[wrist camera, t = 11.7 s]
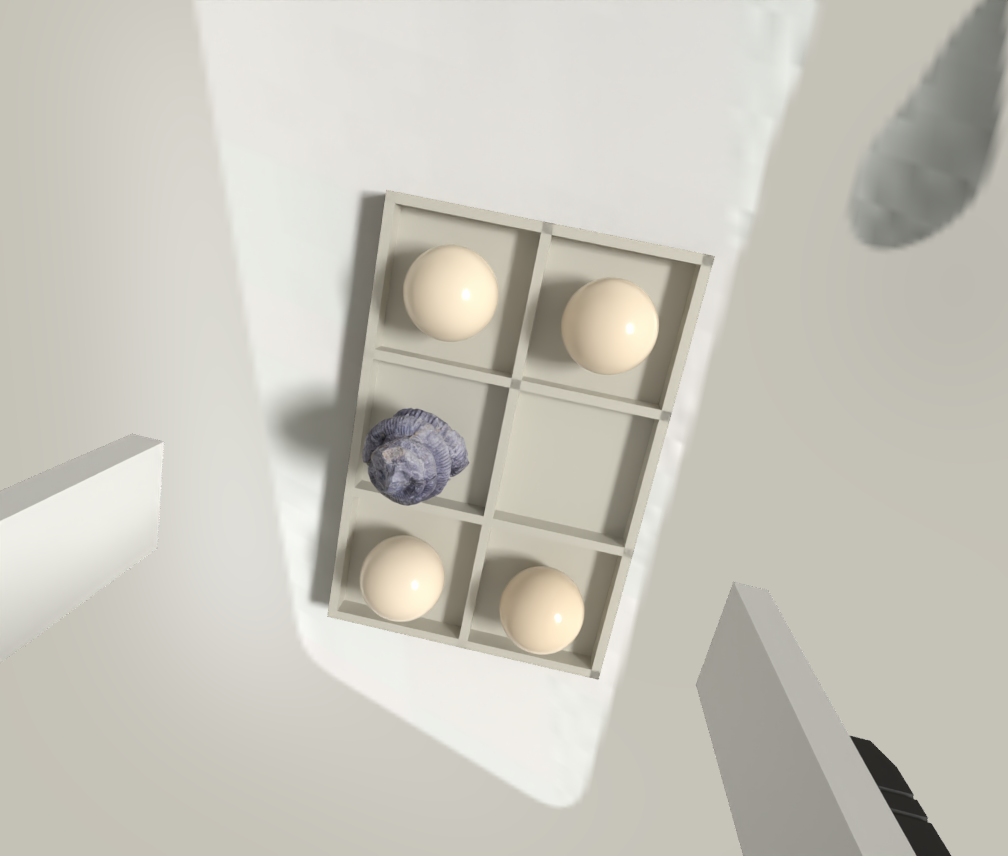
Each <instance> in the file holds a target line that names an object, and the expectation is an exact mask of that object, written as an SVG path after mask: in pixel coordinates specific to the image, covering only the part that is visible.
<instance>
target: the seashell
mask: <svg viewBox="0 0 1008 856" xmlns="http://www.w3.org/2000/svg"><path fill="white" fill-rule="evenodd" d="M467 456H468V451H467V449H466V445H465V440H464V438H463V437H461V436H460V435H459V433H457V431H455V430H452V429H451V427H450V426H449V425H448V423H445V422H444V421H443V420H441V419H440V418H439V417H437V416H436V415H434V414H432V413H429V412H426V411H424V410H421V409H413V408H407V409H402V410H399V411H398V412H397V413H396V414H395V415H393V418H389V419H384V420H382V421H380V422H379V423H378V424H377V425H375V426H374V427H373V428H372V429H371V430H370V431H369V433H368V434H367V436H366V438H365V444H364V449H363V452H362V458H363V462H364V463H366V464H367V466H369V467H368V475H369V478H370V481H371V482H372V484H373V485H374V487H375V488H376V489H377V490H378V491H379V492H380V493H381V494H382V495H383V496H385V497H386V498H388V499H389V500H391V501H393V502H395V503H398V504H400V505H404V506H405V505H406V506H410V505H415V504H418V503H420V502H421V501H425V500H428V499H430V498H431V497H434V496H437V495H438V494H440V493H441V492H442V490H443V489H444V487H445V486H446V485H447V482H448V480H451V479H450V477H454V476H456V475H458V474H459V473H460V472H462V471H463V470H464V469H465V467H467V466H468V464H469V461H468V458H467Z"/></svg>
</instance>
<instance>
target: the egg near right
mask: <svg viewBox="0 0 1008 856" xmlns="http://www.w3.org/2000/svg"><path fill="white" fill-rule="evenodd" d="M658 331H659V319H658V314H657V310H656V307H655V305H654V303H653V301H652V300H651V298H650V297H649V295H648V294H647V293H646V292H645V291H644V290H643V289H642V288H641V287H639V286H638V285H636V284H635V283H633V282H631V281H628V280H626V279H622V278H615V277H607V278H600V279H597V280H594V281H591V282H589V283H587V284H586V285H584V286H582V287H581V288H580V289H578V290H577V291H576V292H575V293H574V294H573V296H572V297H571V298H570V300H569V301H568V303H567V305H566V307H565V309H564V312H563V315H562V320H561V335H562V339H563V343H564V345H565V348H566V350H567V352H568V353H569V355H570V356H571V357H572V359H573V360H574V361H575V362H576V363H577V364H578V365H580V366H581V367H583V368H584V369H586V370H588V371H590V372H593V373H596V374H601V375H616V374H621V373H624V372H627V371H630V370H631V369H633V368H635V367H637V366H638V365H639V364H641V363H642V362H643V361H644V360H645V359H646V358H647V356H648V355H649V354H650V352H651V351H652V349H653V347H654V345H655V343H656V340H657V337H658Z"/></svg>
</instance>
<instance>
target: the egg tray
mask: <svg viewBox="0 0 1008 856" xmlns="http://www.w3.org/2000/svg"><path fill="white" fill-rule="evenodd" d="M446 244H454V245H460V246H464V247H467V248H469V249H471V250H473V251H475V252H476V253H478V254H479V255H480V256H482V257H483V258H484V259H485V260H486V261H487V262H488V264H489V265H490V266H491V268H492V270H493V272H494V274H495V276H496V279H497V283H498V289H499V299H498V305H497V309H496V311H495V314H494V316H493V318H492V320H491V321H490V323H489V324H488V325H487V326H486V327H485V328H484V329H483V330H482V331H481V332H480V333H479V334H477V335H475V336H474V337H472V338H469V339H467V340H463V341H458V342H445V341H440V340H436V339H434V338H432V337H429V336H428V335H426V334H424V333H423V332H422V331H421V330H419V329H418V328H417V327H416V326H415V324H414V323H413V322H412V321H411V319H410V317H409V316H408V313H407V311H406V308H405V305H404V300H403V284H404V280H405V277H406V274H407V272H408V270H409V268H410V266H411V265H412V263H413V262H414V261H415V260H416V259H417V257H419V256H420V255H421V254H422V253H424V252H425V251H427V250H429V249H431V248H433V247H436V246H440V245H446ZM714 257H715V256H711V255H706V254H701V253H697V252H692V251H687V250H682V249H677V248H672V247H667V246H662V245H657V244H652V243H647V242H642V241H637V240H632V239H627V238H622V237H617V236H612V235H607V234H602V233H597V232H592V231H587V230H582V229H577V228H572V227H567V226H562V225H557V224H552V223H548V222H543V221H538V220H533V219H528V218H523V217H518V216H513V215H508V214H503V213H498V212H493V211H488V210H483V209H478V208H473V207H468V206H463V205H458V204H453V203H448V202H443V201H438V200H433V199H428V198H423V197H418V196H413V195H408V194H404V193H399V192H394V191H389V190H386V195H385V202H384V209H383V217H382V224H381V231H380V239H379V246H378V253H377V260H376V268H375V275H374V282H373V289H372V297H371V304H370V311H369V318H368V326H367V333H366V340H365V347H364V355H363V362H362V369H361V376H360V384H359V391H358V398H357V405H356V413H355V420H354V427H353V434H352V442H351V449H350V456H349V463H348V471H347V478H346V485H345V492H344V500H343V507H342V514H341V522H340V529H339V536H338V543H337V551H336V558H335V565H334V572H333V580H332V587H331V594H330V601H329V609H328V616H327V617H332V618H336V619H340V620H344V621H349V622H353V623H357V624H362V625H366V626H370V627H375V628H379V629H383V630H387V631H392V632H396V633H400V634H405V635H409V636H413V637H418V638H422V639H426V640H430V641H435V642H439V643H443V644H448V645H452V646H456V647H461V648H465V649H469V650H473V651H478V652H482V653H486V654H491V655H495V656H499V657H504V658H508V659H512V660H516V661H521V662H525V663H529V664H534V665H538V666H542V667H547V668H551V669H555V670H559V671H564V672H568V673H572V674H577V675H581V676H585V677H590V678H594V679H599V675H600V672H601V668H602V664H603V661H604V657H605V653H606V650H607V646H608V642H609V639H610V635H611V632H612V628H613V624H614V621H615V617H616V613H617V610H618V606H619V603H620V599H621V595H622V592H623V588H624V584H625V581H626V577H627V573H628V570H629V566H630V563H631V559H632V555H633V552H634V548H635V544H636V541H637V537H638V533H639V530H640V526H641V523H642V519H643V515H644V512H645V508H646V504H647V501H648V497H649V493H650V490H651V486H652V483H653V479H654V475H655V472H656V468H657V464H658V461H659V457H660V453H661V450H662V446H663V443H664V439H665V435H666V432H667V428H668V424H669V421H670V417H671V413H672V410H673V406H674V403H675V399H676V395H677V392H678V388H679V384H680V381H681V377H682V373H683V370H684V366H685V363H686V359H687V355H688V352H689V348H690V344H691V341H692V337H693V334H694V330H695V326H696V323H697V319H698V315H699V312H700V308H701V304H702V301H703V297H704V294H705V290H706V286H707V283H708V279H709V275H710V272H711V268H712V264H713V261H714ZM607 277H615V278H622V279H626V280H628V281H631V282H633V283H635V284H636V285H638V286H639V287H641V288H642V289H643V290H644V291H645V292H646V293H647V294H648V295H649V297H650V298H651V300H652V301H653V303H654V305H655V307H656V310H657V314H658V319H659V331H658V337H657V340H656V343H655V345H654V347H653V349H652V351H651V352H650V354H649V355H648V356H647V358H646V359H645V360H644V361H643V362H642V363H641V364H639V365H638V366H637V367H635V368H633V369H631V370H630V371H627V372H624V373H621V374H616V375H601V374H596V373H593V372H590V371H588V370H586V369H584V368H583V367H581V366H580V365H578V364H577V363H576V362H575V361H574V360H573V359H572V357H571V356H570V355H569V353H568V352H567V350H566V348H565V345H564V343H563V339H562V335H561V320H562V315H563V312H564V309H565V307H566V305H567V303H568V301H569V300H570V298H571V297H572V296H573V294H574V293H575V292H576V291H577V290H578V289H580V288H581V287H582V286H584V285H586V284H587V283H589V282H591V281H594V280H597V279H600V278H607ZM407 408H413V409H421V410H424V411H426V412H429V413H432V414H434V415H436V416H437V417H439V418H440V419H441V420H443V421H444V422H445V423H448V425H449V426H450V427H451V429H452V430H455V431H457V433H459V435H460V436H461V437H463V438H464V440H465V445H466V449H467V451H468V456H467V458H468V461H469V464H468V466H467V467H465V469H464V470H463V471H462V472H460V473H459V474H458V475H456V476H454V477H450V479H451V480H448V482H447V485H446V486H445V487H444V489H443V490H442V492H441V493H440V494H438V495H437V496H434V497H431V498H430V499H428V500H425V501H421V502H420V503H418V504H415V505H410V506H406V505H405V506H404V505H400V504H398V503H395V502H393V501H391V500H389V499H388V498H386V497H385V496H383V495H382V494H381V493H380V492H379V491H378V490H377V489H376V488H375V487H374V485H373V484H372V482H371V481H370V478H369V475H368V467H369V466H367V464H366V463H364V462H363V458H362V452H363V449H364V444H365V438H366V436H367V434H368V433H369V431H370V430H371V429H372V428H373V427H374V426H375V425H377V424H378V423H379V422H380V421H382V420H384V419H389V418H393V415H395V414H396V413H397V412H398V411H399V410H402V409H407ZM399 535H408V536H414V537H417V538H420V539H422V540H424V541H426V542H427V543H428V544H430V545H431V546H432V547H433V548H434V549H435V550H436V552H437V553H438V554H439V556H440V558H441V560H442V563H443V566H444V571H445V583H444V588H443V591H442V594H441V596H440V598H439V600H438V602H437V603H436V604H435V606H434V607H433V608H432V609H431V610H430V611H429V612H428V613H426V614H425V615H423V616H421V617H419V618H417V619H414V620H411V621H406V622H396V621H391V620H387V619H385V618H382V617H381V616H379V615H377V614H376V613H375V612H374V611H372V610H371V609H370V607H369V606H368V605H367V603H366V602H365V600H364V598H363V596H362V593H361V589H360V571H361V567H362V564H363V562H364V560H365V558H366V556H367V555H368V553H369V552H370V551H371V550H372V549H373V548H374V547H375V546H376V545H377V544H379V543H380V542H381V541H383V540H385V539H387V538H390V537H394V536H399ZM537 566H546V567H551V568H555V569H557V570H560V571H561V572H563V573H565V574H566V575H567V576H569V577H570V578H571V579H572V580H573V581H574V583H575V584H576V585H577V587H578V588H579V590H580V593H581V595H582V598H583V602H584V609H585V610H584V621H583V624H582V627H581V630H580V632H579V634H578V635H577V637H576V638H575V639H574V641H573V642H572V643H571V644H570V645H568V646H567V647H566V648H564V649H562V650H561V651H558V652H556V653H552V654H545V655H540V654H533V653H529V652H527V651H524V650H522V649H521V648H519V647H518V646H516V645H515V644H514V643H513V642H512V641H511V640H510V639H509V637H508V636H507V635H506V633H505V631H504V629H503V627H502V624H501V621H500V615H499V605H500V599H501V596H502V593H503V591H504V588H505V587H506V585H507V584H508V582H509V581H510V580H511V579H512V578H513V577H514V576H515V575H516V574H518V573H519V572H521V571H523V570H525V569H528V568H531V567H537Z"/></svg>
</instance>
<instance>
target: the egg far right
mask: <svg viewBox="0 0 1008 856" xmlns="http://www.w3.org/2000/svg"><path fill="white" fill-rule="evenodd" d="M584 610H585V609H584V602H583V598H582V595H581V593H580V590H579V588H578V587H577V585H576V584H575V583H574V581H573V580H572V579H571V578H570V577H569V576H567V575H566V574H565V573H563V572H561V571H560V570H557V569H555V568H551V567H546V566H537V567H531V568H528V569H525V570H523V571H521V572H519V573H518V574H516V575H515V576H514V577H513V578H512V579H511V580H510V581H509V582H508V584H507V585H506V587H505V588H504V591H503V593H502V596H501V599H500V605H499V615H500V621H501V624H502V627H503V629H504V631H505V633H506V635H507V636H508V637H509V639H510V640H511V641H512V642H513V643H514V644H515V645H516V646H518V647H519V648H521V649H522V650H524V651H527V652H529V653H533V654H540V655H545V654H552V653H556V652H558V651H561V650H562V649H564V648H566V647H567V646H568V645H570V644H571V643H572V642H573V641H574V639H575V638H576V637H577V635H578V634H579V632H580V630H581V627H582V624H583V621H584Z"/></svg>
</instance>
